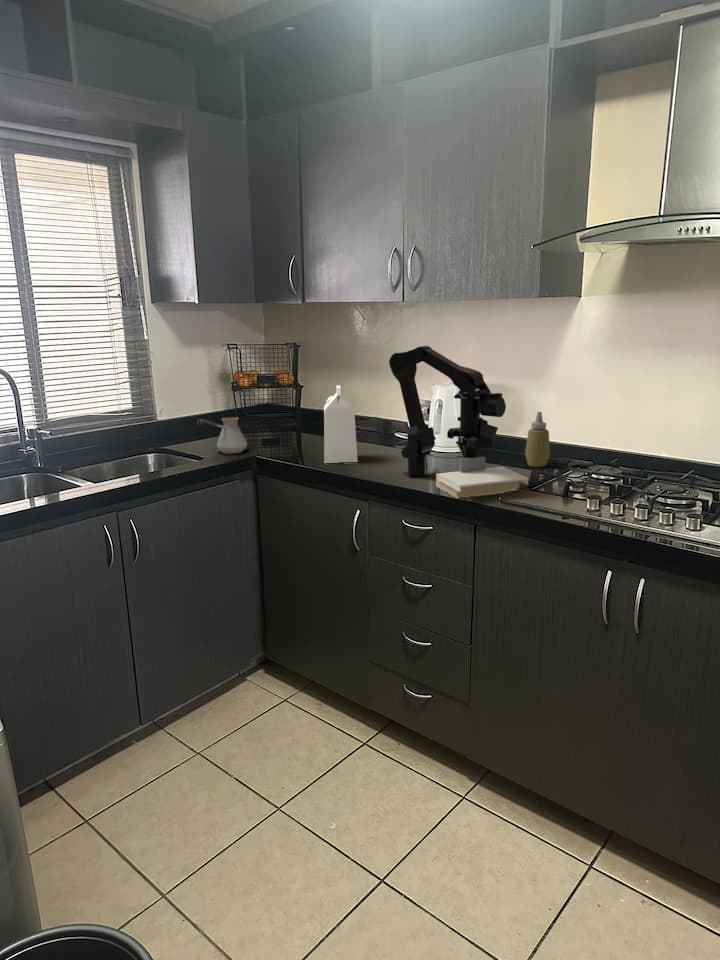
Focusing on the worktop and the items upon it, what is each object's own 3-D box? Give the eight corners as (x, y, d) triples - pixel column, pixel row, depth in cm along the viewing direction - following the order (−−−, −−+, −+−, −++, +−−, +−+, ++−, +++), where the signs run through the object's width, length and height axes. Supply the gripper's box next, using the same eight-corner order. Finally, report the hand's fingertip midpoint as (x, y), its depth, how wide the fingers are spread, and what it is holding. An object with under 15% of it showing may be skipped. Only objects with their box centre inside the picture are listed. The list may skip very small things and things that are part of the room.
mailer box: (436, 486, 207) (436, 473, 206) (494, 479, 213) (495, 467, 212) (456, 498, 194) (457, 484, 193) (518, 491, 200) (519, 477, 199)
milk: (357, 463, 239) (355, 388, 233) (324, 464, 239) (321, 389, 232) (355, 455, 251) (354, 384, 244) (324, 456, 250) (321, 384, 244)
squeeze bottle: (543, 462, 235) (546, 409, 230) (553, 467, 227) (556, 413, 222) (520, 463, 233) (523, 410, 229) (530, 468, 226) (532, 414, 221)
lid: (437, 479, 204) (437, 460, 202) (501, 472, 210) (502, 453, 209) (459, 492, 191) (460, 471, 189) (527, 484, 197) (528, 464, 196)
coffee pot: (232, 447, 269) (229, 409, 265) (254, 450, 262) (251, 411, 259) (190, 458, 252) (187, 417, 248) (213, 462, 245) (209, 420, 242)
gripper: (510, 416, 197) (508, 469, 201) (479, 407, 214) (478, 456, 218) (475, 419, 194) (474, 473, 198) (446, 410, 211) (446, 460, 215)
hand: (469, 465), depth 207 cm, fingers closed
